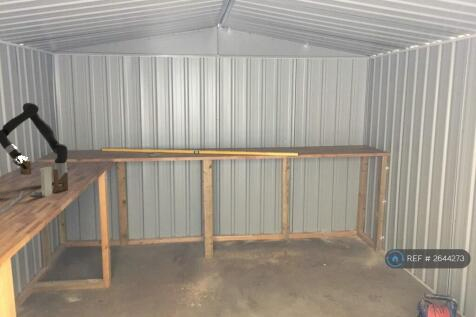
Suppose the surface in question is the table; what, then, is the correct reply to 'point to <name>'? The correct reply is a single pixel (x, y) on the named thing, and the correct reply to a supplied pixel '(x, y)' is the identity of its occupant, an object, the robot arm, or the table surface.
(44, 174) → the grey stand
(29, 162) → the brown rectangular block
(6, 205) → the table surface
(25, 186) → the table surface
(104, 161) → the table surface
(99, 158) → the table surface
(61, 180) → the wooden rod assembly
